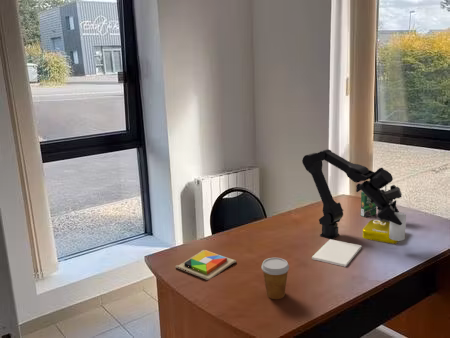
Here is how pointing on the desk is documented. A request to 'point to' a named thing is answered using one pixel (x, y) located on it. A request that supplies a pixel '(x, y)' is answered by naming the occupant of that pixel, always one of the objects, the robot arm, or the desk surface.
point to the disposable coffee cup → (275, 277)
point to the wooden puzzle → (206, 264)
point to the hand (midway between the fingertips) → (401, 221)
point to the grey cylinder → (398, 228)
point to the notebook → (337, 252)
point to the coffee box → (367, 206)
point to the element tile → (378, 231)
